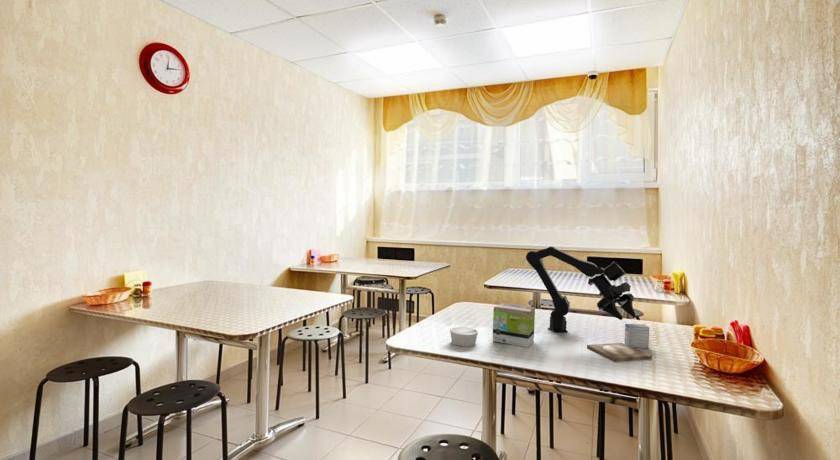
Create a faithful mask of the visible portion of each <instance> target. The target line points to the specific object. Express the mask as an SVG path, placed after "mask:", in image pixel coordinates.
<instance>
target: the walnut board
mask: <svg viewBox="0 0 840 460" xmlns="http://www.w3.org/2000/svg"><path fill="white" fill-rule="evenodd" d="M586 348H587V349H589V350H590V351H592V352H594V353H597V354H599V355H600V356H602V357H605V358H607V359H609V360H610V361H613V362H629V361H638V360H639V361H640V360H652V359H653V356H652V355H651V354H649V353H647V352H644V351H642V350H640V349H637V348H635V347H631V346H628V345H626V344H625V343H623V342H610V343H596V344H586Z"/></svg>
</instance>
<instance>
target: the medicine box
mask: <svg viewBox="0 0 840 460" xmlns="http://www.w3.org/2000/svg"><path fill="white" fill-rule="evenodd" d="M624 344H626V345H628V346H631V347H633V348H635V349H637V348H640V349H641V348H642V349H648V348H649V344H650V326H648V325H646V324H645V323H643V324H640V323H625V324H624Z"/></svg>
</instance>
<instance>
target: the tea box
mask: <svg viewBox="0 0 840 460" xmlns="http://www.w3.org/2000/svg"><path fill="white" fill-rule="evenodd" d="M535 315H536V307H535V306H527V305H520V304H513V303H504V302H500V303H498V304H497V305H495V306H494V307H493V316H492V317H493V318H492V342H494V343H495V342H497V343H502V344H508V345H513V346H517V347H524V348H527V349H528V348H529V347H530V346H531V344H532V343H533V342H534V341H535V340H534V339H535V338H534V337H535V322H536V321H535V319H536V317H535Z"/></svg>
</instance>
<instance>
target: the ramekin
mask: <svg viewBox="0 0 840 460" xmlns="http://www.w3.org/2000/svg"><path fill="white" fill-rule="evenodd" d="M449 334H450V338H451V339H450V341H451V342H452V344H453V345H455V346H457V347H464V348H465V347H473V346H474V345H476V341H477V338H478V334H479V332H478V330H477V329H475V328H471V327H467V326H456V327H452V328H450V330H449Z"/></svg>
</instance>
